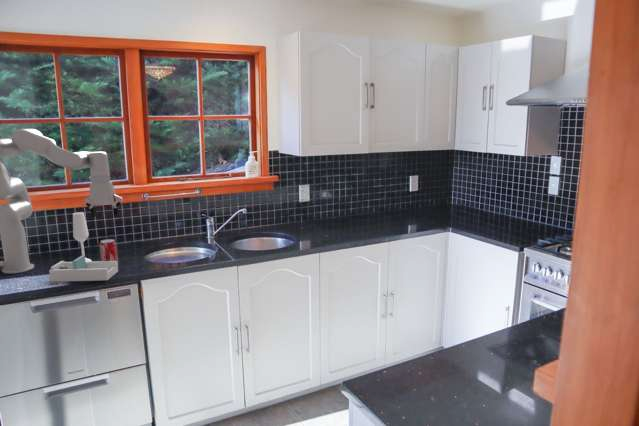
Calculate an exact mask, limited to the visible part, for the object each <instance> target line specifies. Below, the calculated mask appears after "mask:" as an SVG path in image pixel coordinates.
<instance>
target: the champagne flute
mask: <svg viewBox="0 0 639 426" xmlns="http://www.w3.org/2000/svg"><path fill="white" fill-rule="evenodd" d="M72 233H73V235H72V237H73V238H74V240H75V241H77V242H78V243H80V248H81V256H85V262H88V261H92V259H91V258H87V257H86V254H85V246H84V242H85V241H86V240H87V239H88V238H89V235H90V233H89V230H88V225H87V220H86V215H85V213H84V212H83V211H80V212H73V213H72Z"/></svg>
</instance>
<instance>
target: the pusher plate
mask: <svg viewBox="0 0 639 426" xmlns="http://www.w3.org/2000/svg"><path fill="white" fill-rule="evenodd" d="M85 258H86V255H85V256H82V255H80V256H79V257H77V258H76V259H74V260H72V261H71V262H73V269H86V262H85Z"/></svg>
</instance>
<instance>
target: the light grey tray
mask: <svg viewBox="0 0 639 426" xmlns="http://www.w3.org/2000/svg"><path fill="white" fill-rule="evenodd" d="M118 272H119V262H118V263H117V261H101V260H96V261H95V260H93V261H88V262H86V269H73V262H72V261H65V260H60V261H58V262H57V263H56V264H54V265H52V266H51V267H50V269H49V270H48V273H49V281H50V282H51V283H52V282H53V283H54V282H59V283H60V282H91V281H92V282H93V281H96V282H98V281H99V282H100V281H109V280H110V279H111V278H112V277H113V276H115V275H116V274H117V273H118Z"/></svg>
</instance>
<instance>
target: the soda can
mask: <svg viewBox="0 0 639 426" xmlns="http://www.w3.org/2000/svg"><path fill="white" fill-rule="evenodd" d="M115 240H116V239H114V238H105V239H102V240H100V242H99V252H100V255H99V256H100V261H117V263H118V264H119V259H118V247H117V242H116V241H115Z"/></svg>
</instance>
